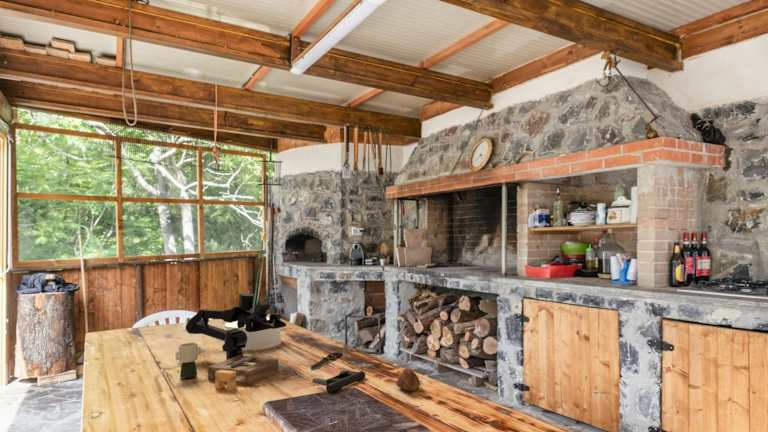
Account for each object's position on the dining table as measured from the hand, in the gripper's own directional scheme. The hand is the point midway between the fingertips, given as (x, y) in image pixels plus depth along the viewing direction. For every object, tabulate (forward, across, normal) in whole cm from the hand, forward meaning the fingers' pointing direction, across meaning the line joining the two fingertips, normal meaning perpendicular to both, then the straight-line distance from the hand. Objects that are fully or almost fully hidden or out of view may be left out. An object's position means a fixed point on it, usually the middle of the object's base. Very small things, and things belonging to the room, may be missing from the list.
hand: (279, 326), depth 192 cm
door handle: (+33, -4, +15) cm, 37 cm away
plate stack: (-41, +34, +21) cm, 57 cm away
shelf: (-6, -10, +20) cm, 23 cm away
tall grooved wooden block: (-1, -24, +21) cm, 32 cm away
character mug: (-25, -20, +24) cm, 40 cm away
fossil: (+61, -1, +11) cm, 62 cm away
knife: (+14, +19, +15) cm, 28 cm away
